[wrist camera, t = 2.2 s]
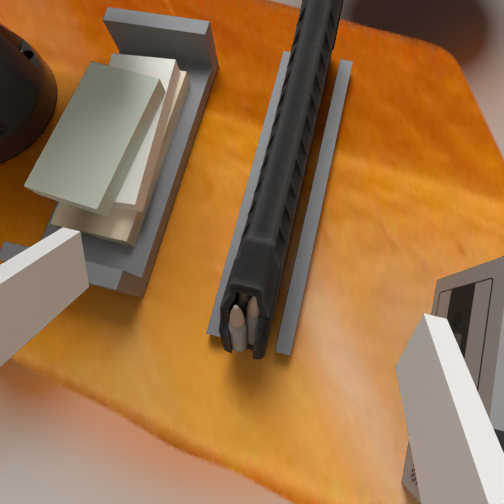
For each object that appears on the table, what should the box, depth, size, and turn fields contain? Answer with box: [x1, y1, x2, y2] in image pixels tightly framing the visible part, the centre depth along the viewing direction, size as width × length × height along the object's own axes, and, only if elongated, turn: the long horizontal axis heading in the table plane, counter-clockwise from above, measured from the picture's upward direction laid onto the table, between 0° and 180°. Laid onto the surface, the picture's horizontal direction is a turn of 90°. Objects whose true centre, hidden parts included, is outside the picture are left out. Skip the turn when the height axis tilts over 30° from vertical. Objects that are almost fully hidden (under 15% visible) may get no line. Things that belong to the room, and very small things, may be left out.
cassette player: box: [401, 256, 504, 504], centre depth 21 cm, size 16×3×10 cm, turn 163°
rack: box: [0, 7, 353, 355], centre depth 29 cm, size 23×28×5 cm
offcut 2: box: [108, 53, 181, 212], centre depth 29 cm, size 6×14×2 cm, turn 170°
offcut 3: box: [50, 71, 191, 247], centre depth 30 cm, size 7×17×2 cm, turn 166°
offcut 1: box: [24, 61, 166, 217], centre depth 27 cm, size 6×12×2 cm, turn 161°
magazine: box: [219, 0, 343, 359], centre depth 26 cm, size 17×3×30 cm
